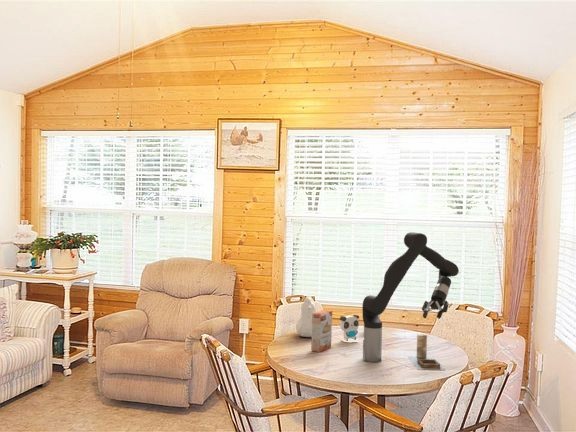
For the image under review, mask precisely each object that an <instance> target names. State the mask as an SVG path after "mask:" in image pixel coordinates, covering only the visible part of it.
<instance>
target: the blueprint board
mask: <svg viewBox="0 0 576 432" xmlns="http://www.w3.org/2000/svg"><path fill="white" fill-rule="evenodd" d="M406 357H407V358H408V360H409V361H410V362H411V363H412V365H413V366H414V367H415V368H416V370H438V369H437V368H421V367H420V365H419V364H418V363H417V355H409V356H408V355H407V356H406ZM426 359H435V360H436V361H437V362H438V363H439V364H440V369H439V370H442V371H445V370H446V368H445V367H444V366H443V365H442V364H441V362H439V361H438V360H437V359H436V358H435V357H434V356H428V355H427V356H426Z"/></svg>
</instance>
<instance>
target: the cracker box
mask: <svg viewBox="0 0 576 432" xmlns="http://www.w3.org/2000/svg"><path fill="white" fill-rule="evenodd" d="M332 327H333V311H332V310H327V309H323V310H319V311H316V313H312V337H311V341H310V342H311V346H310V347H311V350H312V351H311V352H316V351H318V352H317V353H321V352H323V351H322V350H324V351H326V350H327V348H328V349H330V348H332V334H333V332H332V330H333V329H332ZM329 347H330V348H329ZM325 349H326V350H325ZM320 351H321V352H320Z"/></svg>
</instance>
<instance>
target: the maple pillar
mask: <svg viewBox="0 0 576 432" xmlns="http://www.w3.org/2000/svg"><path fill="white" fill-rule="evenodd" d="M427 340H428V335H426V334H424V333H423V334H422V333H421V334H416V356H417V359H426V356H428V355H427V352H428V351H427V347H428V341H427Z"/></svg>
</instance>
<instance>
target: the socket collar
mask: <svg viewBox="0 0 576 432" xmlns="http://www.w3.org/2000/svg"><path fill="white" fill-rule="evenodd" d="M435 359H436V358H435ZM435 359H417V363H418V364H419V365H420V367H421V368H437V369H436V370H441V369H440V364H441V363H440V362H439V361H438V360H437V359H436V360H437V361H438V362H439V363H440V364H439V363H438V362H437V361H436V360H435Z"/></svg>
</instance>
